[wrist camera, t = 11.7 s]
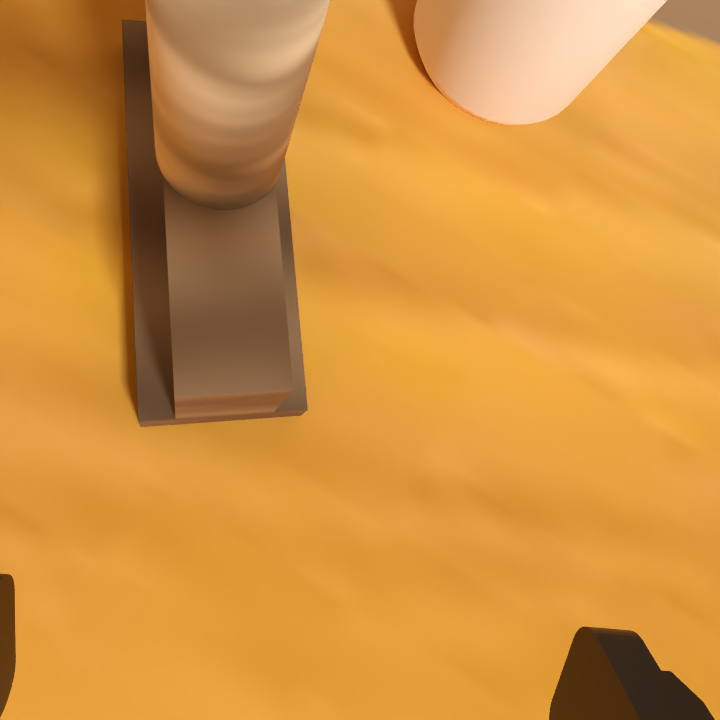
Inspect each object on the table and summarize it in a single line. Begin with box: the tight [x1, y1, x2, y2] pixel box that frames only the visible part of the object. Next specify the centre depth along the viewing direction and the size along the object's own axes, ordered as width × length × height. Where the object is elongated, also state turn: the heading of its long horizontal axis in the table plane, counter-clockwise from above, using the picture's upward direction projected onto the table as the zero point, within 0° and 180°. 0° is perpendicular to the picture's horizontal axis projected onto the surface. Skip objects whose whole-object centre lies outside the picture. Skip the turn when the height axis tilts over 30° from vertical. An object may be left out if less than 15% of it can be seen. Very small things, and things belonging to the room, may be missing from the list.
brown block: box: [122, 20, 308, 427], centre depth 25 cm, size 16×6×6 cm, turn 6°
